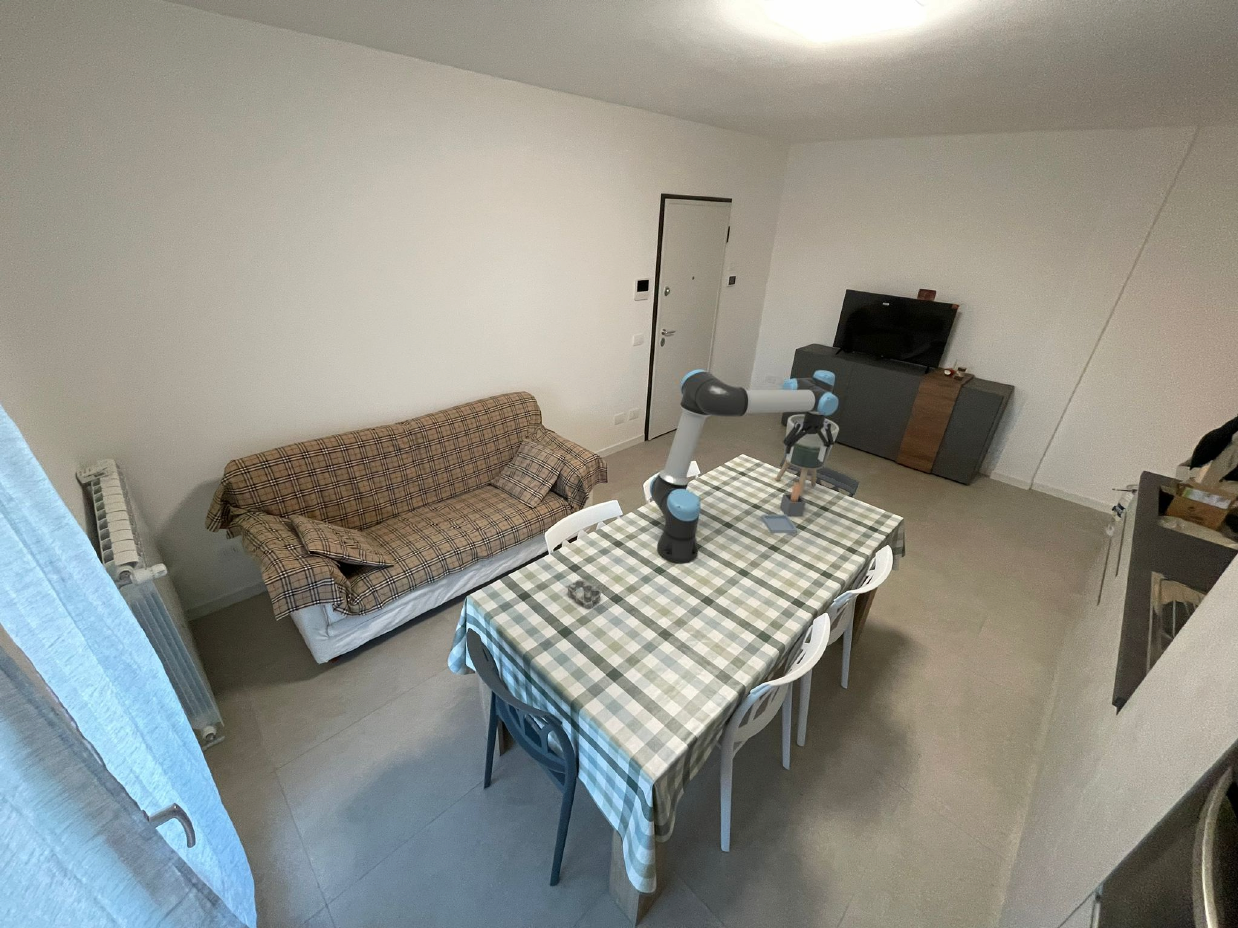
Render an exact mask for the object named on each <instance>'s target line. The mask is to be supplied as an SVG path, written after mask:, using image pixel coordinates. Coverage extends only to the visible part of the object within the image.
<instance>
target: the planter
mask: <svg viewBox="0 0 1238 928" xmlns="http://www.w3.org/2000/svg"><path fill="white" fill-rule="evenodd" d="M804 416H805V414H793V415H791V416H788V418H787V423H786V432H785V438H786V437H787V435H788V434H789V433H790V431H791V430H792V428H793V427H794V425H795V422H798V423H803V422H804ZM825 422H829V423H830V424H831V433H832V437H833V441H834V442H835V440H836V439H837V436H838V433H839V431H840V428H839V425H838V424H837V423H835V422H834V421H832V420H830V419H828V418H825V421H824V423H825ZM802 428H803V427H801V429H802ZM799 431H800V429H799ZM799 431H798V432H799ZM798 432H797V433H798ZM803 432H805V431H803ZM821 432H822V433H823V435H824V437H825V438H826V440H827V442H828V439H827V435H826V431H825V428H824V427H823V428H822V429H821ZM797 433H796V434H797ZM821 444H824V443H823V442H822V440H821V438H820V437H819V435H818V434H806V435H805V436H803V437H802V438H801V439H800V440H798V441H797V442H796V443H795V444H794V445H793V447H794V448H793V453H792V457H791V461H790V462H788V461H787V460H786V456H787V453H786V448H787V446H786V445H785V444H784V451H783V459H784V463H783V465H782V467H780V470H779V472H778V473H777V475H776V477H775V479H774V480H775V481H777V482H779V481H780V480H781V478H782V477H783V476H784V474H785V473H786V471H787V470H788V469H789V467H790V465H792V466H794V467H796V468H800V470H801V471H800V476H799V483H801V484H802V486H801V490H800V494H799V495H800V496H801V498H802V499H803V494H804V489H805V486H806V481H807V477H808V476H807V475H808V474H809V473H808V472H809V470H810V482H811V483H810V485H811V486H812V487H816V485H817V470H820V469H822V468H823V467H824V466H825V464H826V462H827V460H828V457H829V454H830V452H831V450H832V448H833V446H834V445H830V447H829V448H828V450H827V453H825V455H824V458H823V462H821V461H820V460H819V459H818V456H819V452H820V448H821Z"/></svg>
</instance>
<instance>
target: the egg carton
mask: <svg viewBox="0 0 1238 928" xmlns="http://www.w3.org/2000/svg"><path fill="white" fill-rule="evenodd" d="M565 588H567V597H568V598H569V599H575V602H576V603H577V604H583V608H584V609H589V608H590V609H592V608H593V607H594V603H600V602H601V594H602V593H603V590H601V589H598V587H596V585H594V584H592V583H590V582H589V581H588V580H586V579H585V578H580V579H579V578H578V579H577V580H576V581H575V582H573V583H572V584H568V585H566V586H565ZM577 588H582V591H584V592H581V591H578V592H576V589H577Z"/></svg>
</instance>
